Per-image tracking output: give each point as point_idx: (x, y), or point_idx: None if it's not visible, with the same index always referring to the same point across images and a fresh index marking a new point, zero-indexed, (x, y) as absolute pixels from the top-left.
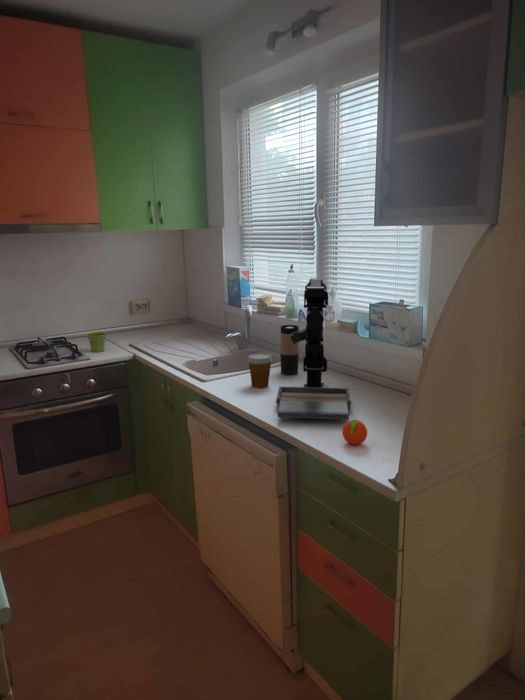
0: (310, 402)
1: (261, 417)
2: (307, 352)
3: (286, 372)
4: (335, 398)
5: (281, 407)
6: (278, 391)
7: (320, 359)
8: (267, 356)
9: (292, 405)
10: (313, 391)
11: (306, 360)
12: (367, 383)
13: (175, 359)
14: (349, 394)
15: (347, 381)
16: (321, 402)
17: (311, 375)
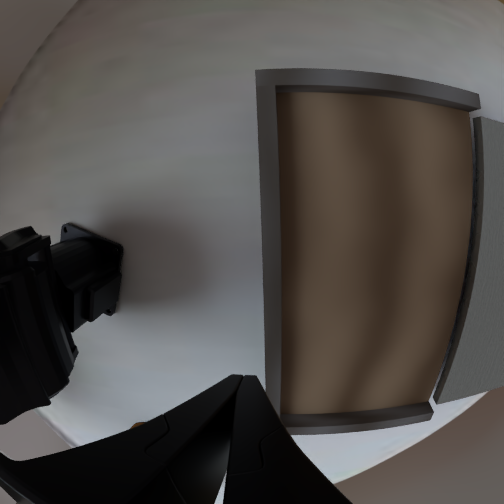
0: (479, 294)
1: (460, 408)
2: (13, 408)
3: None
4: (386, 158)
5: (494, 382)
6: (340, 432)
7: (15, 300)
8: None
9: (490, 356)
10: (281, 286)
11: (56, 387)
12: (47, 55)
13: None
14: (384, 75)
15: (27, 132)
16: (485, 243)
17: (84, 305)
